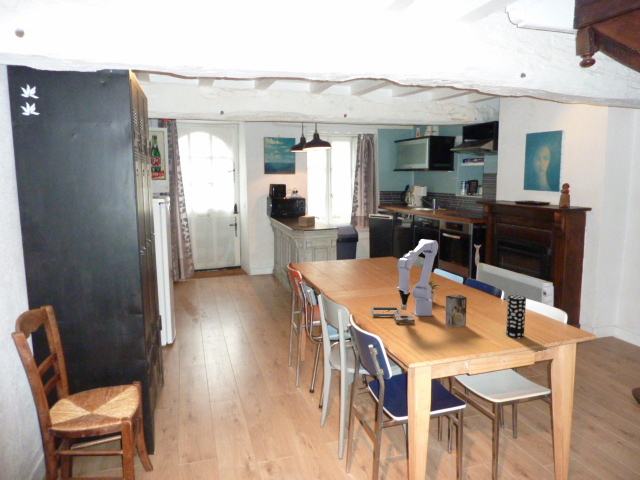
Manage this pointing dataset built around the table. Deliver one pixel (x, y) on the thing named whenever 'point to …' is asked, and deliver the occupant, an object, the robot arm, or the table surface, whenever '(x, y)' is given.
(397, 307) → the tray
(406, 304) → the pin
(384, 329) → the table surface
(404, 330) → the table surface
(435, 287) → the house plant
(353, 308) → the table surface
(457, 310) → the coffee box
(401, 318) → the pin block
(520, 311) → the white-spotted black cylinder
